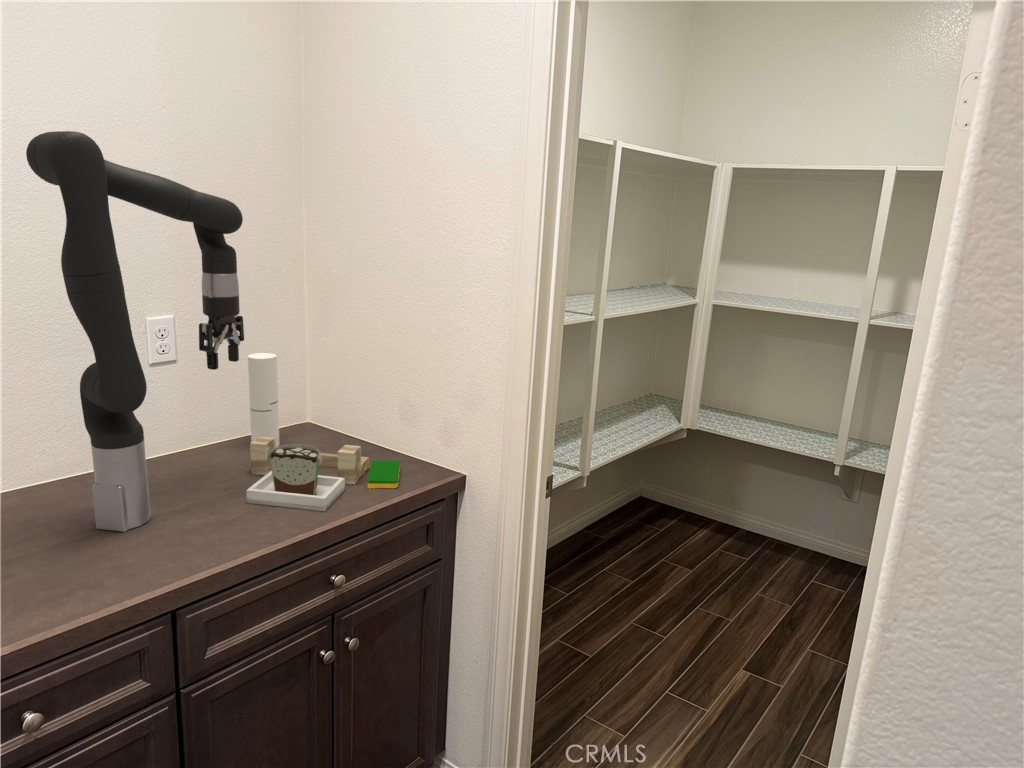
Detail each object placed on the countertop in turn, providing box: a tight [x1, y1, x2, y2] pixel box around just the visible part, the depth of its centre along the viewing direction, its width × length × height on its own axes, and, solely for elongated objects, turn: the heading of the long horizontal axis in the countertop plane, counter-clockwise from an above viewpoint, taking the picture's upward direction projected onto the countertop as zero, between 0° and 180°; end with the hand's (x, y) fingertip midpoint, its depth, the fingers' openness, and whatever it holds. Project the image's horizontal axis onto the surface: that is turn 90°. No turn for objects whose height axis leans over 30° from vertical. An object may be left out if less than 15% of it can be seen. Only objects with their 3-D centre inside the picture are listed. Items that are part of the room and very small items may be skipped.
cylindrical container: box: [247, 352, 280, 447], centre depth 186 cm, size 7×7×25 cm
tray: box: [246, 471, 346, 512], centre depth 158 cm, size 12×18×3 cm, turn 83°
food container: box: [267, 443, 322, 495], centre depth 159 cm, size 12×6×10 cm, turn 83°
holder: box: [249, 437, 370, 486], centre depth 172 cm, size 11×26×8 cm, turn 83°
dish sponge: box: [367, 459, 401, 490], centre depth 172 cm, size 7×14×2 cm, turn 6°
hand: (223, 365), depth 157 cm, fingers open, 8 cm apart
